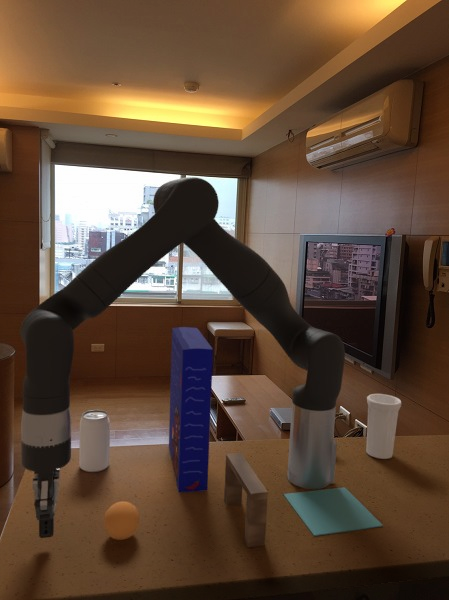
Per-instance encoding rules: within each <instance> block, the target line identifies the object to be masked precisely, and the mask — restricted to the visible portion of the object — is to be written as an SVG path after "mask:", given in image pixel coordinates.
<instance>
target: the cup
mask: <svg viewBox="0 0 449 600" xmlns="http://www.w3.org/2000/svg"><path fill="white" fill-rule="evenodd" d="M366 402H367V405H368V406H367V429H366V448H365V449H366V450H365V451H366V454H368V456H370V457H374V458H376V459H381V460H382V459H383V460H386V459H391V458H392V457H393V455H394V454H393V453H394V447H395V446H394V445H395V439H396V430H397V423H398V416H399V410H400V409H401V407H402V401H401V399H400V398H398V397H396V396H395V395H394V396H393V395H390V394H386V393H385V394H384V393H372V394H369V395H368V396H366Z"/></svg>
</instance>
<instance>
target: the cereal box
mask: <svg viewBox="0 0 449 600" xmlns="http://www.w3.org/2000/svg"><path fill="white" fill-rule="evenodd" d="M171 330H172V331H171V357H170V362H171V364H170V391H169V392H170V393H169V394H170V395H169V397H170V398H169V425H168V426H169V427H168V450H169V454H170V458H171V462H172V463H171V464H172V469H173V472H174V478H175V482H176V487H177V492H178V493H190V492H205V491H208V484H209V462H210V461H209V460H210V459H209V457H210V455H209V454H210V437H211V436H210V435H211V434H210V433H211V432H210V431H211V411H212V410H211V407H212V386H213V385H212V384H213V382H212V381H213V380H212V379H213V361H214V360H213V359H214V358H213V357H214V349H213V347H212V346H211V345H210V343H209V342H208V340H207V339H206V338H205V336H203V334H202V332H201V331H200V329H198V328H197V327H187V326H181V327H180V326H179V327H172V328H171Z"/></svg>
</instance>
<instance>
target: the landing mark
mask: <svg viewBox="0 0 449 600" xmlns="http://www.w3.org/2000/svg"><path fill="white" fill-rule="evenodd" d="M283 496H284V498H285V500H287V502H288V503H289V505H290V506H291V507H292V509H293V510H294V511H295V513H296V514H297V515H298V516H299V518H300V519H301V520H302V522H303V524H304V525H305V526H306V528H307V529H308V530H309V531H310V533H311V534H312V535H313V537H318V536H325V535H332V534H339V533H346V532H353V531H361V530H368V529H374V528H381V527H384V525H383V524H382V523H381V522H380V521H379V520H378V519H377V518H376V517H375V515H373V514H372V513H371V512H370V511H369V510H368V509H367V508H366V507H365V506H364V505H363V504H362V503H361V502H360V501H359V500H358V499H357V498H356V497H355V496H354V495H353V494H352V493H351V492H350V491H349V490H348V489H347V488H346V487H344V486H343V487H336V488H326V489H325V488H323V489H315V490H309V491H301V492H291V493H283Z"/></svg>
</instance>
